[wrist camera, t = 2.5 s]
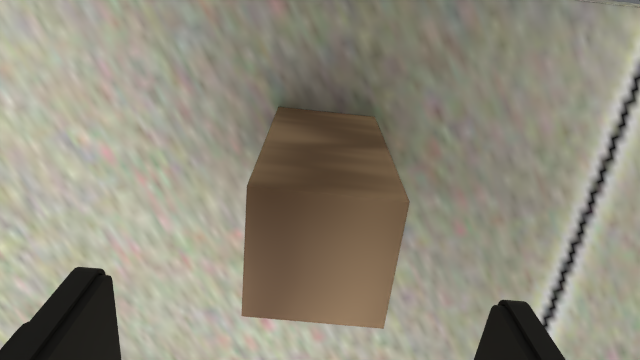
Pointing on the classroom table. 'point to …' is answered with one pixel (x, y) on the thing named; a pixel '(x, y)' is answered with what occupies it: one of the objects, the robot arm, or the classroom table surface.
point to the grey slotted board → (618, 2)
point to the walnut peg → (322, 221)
